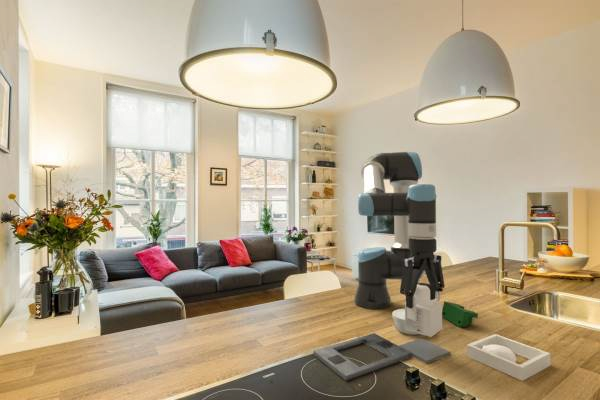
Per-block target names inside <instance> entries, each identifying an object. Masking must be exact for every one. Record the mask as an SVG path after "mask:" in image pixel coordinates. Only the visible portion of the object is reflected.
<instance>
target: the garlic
mask: <svg viewBox="0 0 600 400" xmlns="http://www.w3.org/2000/svg"><path fill="white" fill-rule="evenodd" d="M482 349H483V350H485V351H488V352H490V353H492V354H495V355H497V356H500V357H502V358H505V359H507V360H510V361H512V362H514V363H517V357H516V354H515V353H514V352H513V351H512V350H511V349H509V348H507V347H505V346H501V345H495V344H492V345H487V346H485V345H484V346H483V348H482Z"/></svg>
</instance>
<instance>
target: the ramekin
mask: <svg viewBox="0 0 600 400" xmlns="http://www.w3.org/2000/svg"><path fill="white" fill-rule="evenodd" d="M391 316H392V320H393V323H394V328H395V329H396V330H397V331H398V332H399V333H401V334H406V335H409V336H410V335H412V336H414V335H415V336H416V335H417V336H418V335H420V334H419V333H416V332H412V331H409V330H406V329H405V308H398V309H395V310H393V311H392V315H391Z"/></svg>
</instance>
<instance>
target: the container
mask: <svg viewBox="0 0 600 400" xmlns="http://www.w3.org/2000/svg"><path fill="white" fill-rule="evenodd" d="M414 296H415V297H416V306H417V320H416V321H414V320H412V319H409V318H407V307H406V302H405V303H404V309H405V329H406V330H409V331H412V332H416V333H419V334H418V335H422V336H426V337H428V338H429V337H430V338H432V337H433V336H435V335H436V334H437V333H438V332H440V331H442V329H443V316H442V310H443V303H442V302H440V301H439V302H435V301H436V297H435V287H434V286H432V285H430V284H429V283H427V282H418V284H417V288H416V291H415V294H414Z"/></svg>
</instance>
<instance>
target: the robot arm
mask: <svg viewBox="0 0 600 400" xmlns="http://www.w3.org/2000/svg"><path fill="white" fill-rule="evenodd" d="M360 176H361V178H362V179H363V193H359V194H358V196H357V204H358V205H357V206H358V207H357V208H358V209H357V210H358V215H360V216H366V217H367V216H368V217H384V216H385V217H386V216H390V217H394V219H393V220H394V221H393V225H394V226H393V227H394V231H393V232H394V242H393V244H392V245H391V246H390V250H387V248H386V247H384V246H382V247H380V246H379V247H377V246H376V247H368V248H364V249H361V250H360V251H359V252H358V254H357V255H358V258H357V263H358V264H357V265H358V269H357V271H358V278H357V279H358V284H357V288H356V293H355V294H354V304H355V305H357V306H359V307H361V308H365V309H366V308H367V309H374V310H375V309H386V308H388V307H390V306H391V304H392V299H391V296H390V293H389V290H388V286H387V280H401V281H400V288H399V294H401V295H403V296H405V303H406V307H407V318H409V319H412V320H414V321H416V320H417V306H416V297H415V296H414V294H415V291H416V288H417V284H418V283H419V280H421V279H422V277H423V275H424V272H425V275H426V278H427V281H428V284H430V285H432V286H434V287H435V297H436V301H435V302H440V293H441V292H444V288H445V280H444V273H443V269H442V268H443V267H442V255H437V254H434V253H436V252H437V239H436V237H437V224H436V223H437V194H436V186H435V185H434V184H431V183H429V184H428V183H427V184H426V183H424V184H418V183H419V180H420V179H422V177H423V166H422V160H421V157H420V155H419V153H417V152H414V151H398V152H380V153H376V154H374V155H371V156H370V157H369V158H368V159H366V160H365V162H363V164H362V166H361V170H360ZM384 180H389V185H390V186H391V187H392V188H393V192H386V187H385V182H384Z"/></svg>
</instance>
